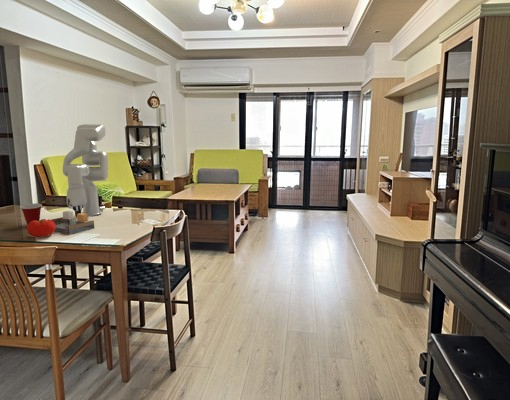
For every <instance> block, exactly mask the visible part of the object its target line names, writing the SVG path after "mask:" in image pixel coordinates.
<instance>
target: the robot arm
mask: <svg viewBox="0 0 510 400" xmlns="http://www.w3.org/2000/svg"><path fill="white" fill-rule="evenodd" d="M106 133H107V132H106V127H105V126H104V125H103V124H94V123H93V124H92V123H89V124H88V123H87V124H86V123H85V124H80V125H78V126H77V127H76V131H75V136H74V143H73V144H74V145H73V148H72V149H71V150H70V151H69V152H68V153H67V154H66V155H65V157H64V159H63V163H62V174H63V175H64V176H65V177H66V178H67V183H68V184H67V185H68V188H67V190H66V205H67V207H68V209H69V210H71V209H72V210H73V211H74V216H75V218H77V214H79V213H85V214H87V215H88V217H93V216H99V215H102V213H103V212H102V210H103V211H104V210H105V209H106V207H105V206H99V194H98V186H97V185H96V184H95V183H94V182H104V181H107V179H108V177H109V176H108V175H109V156H108V154H107V152H105V151H101V150H100V151H97V150H98V149H97V144H96V142H100V141H101V140H103V138H104V137H105V136H106ZM80 157H81V163H72V162H73V161H75V160H76V159H77V158H80ZM82 210H83V211H82Z"/></svg>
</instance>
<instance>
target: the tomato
mask: <svg viewBox="0 0 510 400" xmlns="http://www.w3.org/2000/svg"><path fill="white" fill-rule="evenodd" d="M55 230H56V225H55V223H54V222H53V221H52V220H51V219H46V218H40V220H39V221H37V220H33V221H31V222H30V223H29V224H28V225H26V231H27V234H28V235H29V236H31V237H34V238H37V239H38V238H45V237H49V236H50V235H52V234H53V233H55Z"/></svg>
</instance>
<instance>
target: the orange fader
mask: <svg viewBox="0 0 510 400" xmlns="http://www.w3.org/2000/svg"><path fill="white" fill-rule="evenodd" d="M88 217H89V216H88V215H87V214H85V213H82V212H81V213H79V214H77V217H76V221H80V222H81V223H83V222H88V221H89V218H88Z"/></svg>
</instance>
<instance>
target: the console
mask: <svg viewBox="0 0 510 400" xmlns="http://www.w3.org/2000/svg"><path fill="white" fill-rule="evenodd" d="M50 220H52V221H53V222H54V223H55V225H56V230H55V231H54V233H55V232H56V233H60V234H64V235H65V234H66V235H72V234H73V235H74V234H77V233H81V232H84V231H88V230H92V229H95V220H88V221H85V222H83V223H81V222H80V221H77V220H73V219H70V221H67V219H63V216H62V217H56V218H52V219H50Z"/></svg>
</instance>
